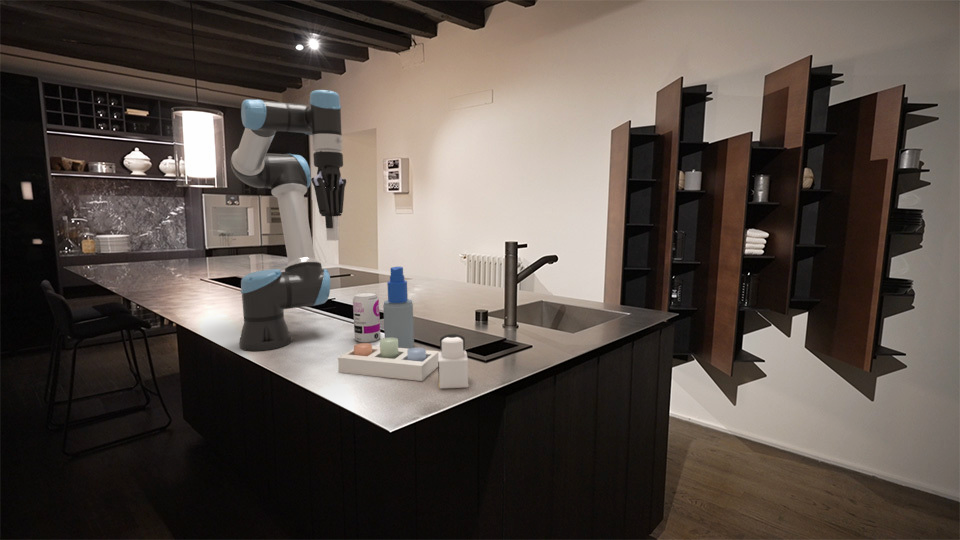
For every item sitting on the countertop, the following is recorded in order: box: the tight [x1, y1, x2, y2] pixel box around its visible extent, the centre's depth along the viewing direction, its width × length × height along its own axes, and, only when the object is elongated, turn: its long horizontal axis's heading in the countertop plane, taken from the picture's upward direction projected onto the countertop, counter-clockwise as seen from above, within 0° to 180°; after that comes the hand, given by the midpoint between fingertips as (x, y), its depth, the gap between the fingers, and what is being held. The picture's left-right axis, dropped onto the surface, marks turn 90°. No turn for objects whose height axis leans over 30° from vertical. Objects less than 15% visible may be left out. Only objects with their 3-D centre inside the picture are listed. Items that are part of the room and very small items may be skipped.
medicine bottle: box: [437, 333, 469, 390], centre depth 119 cm, size 7×7×12 cm
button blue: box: [407, 347, 427, 362], centre depth 128 cm, size 5×5×5 cm
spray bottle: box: [383, 266, 415, 349], centre depth 147 cm, size 9×9×25 cm
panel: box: [337, 344, 440, 382], centre depth 130 cm, size 24×12×4 cm, turn 73°
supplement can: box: [352, 292, 381, 343], centre depth 157 cm, size 8×8×15 cm
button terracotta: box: [353, 342, 373, 356], centre depth 132 cm, size 5×5×5 cm
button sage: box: [379, 337, 399, 359], centre depth 130 cm, size 5×5×5 cm
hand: (332, 240), depth 132 cm, fingers closed
